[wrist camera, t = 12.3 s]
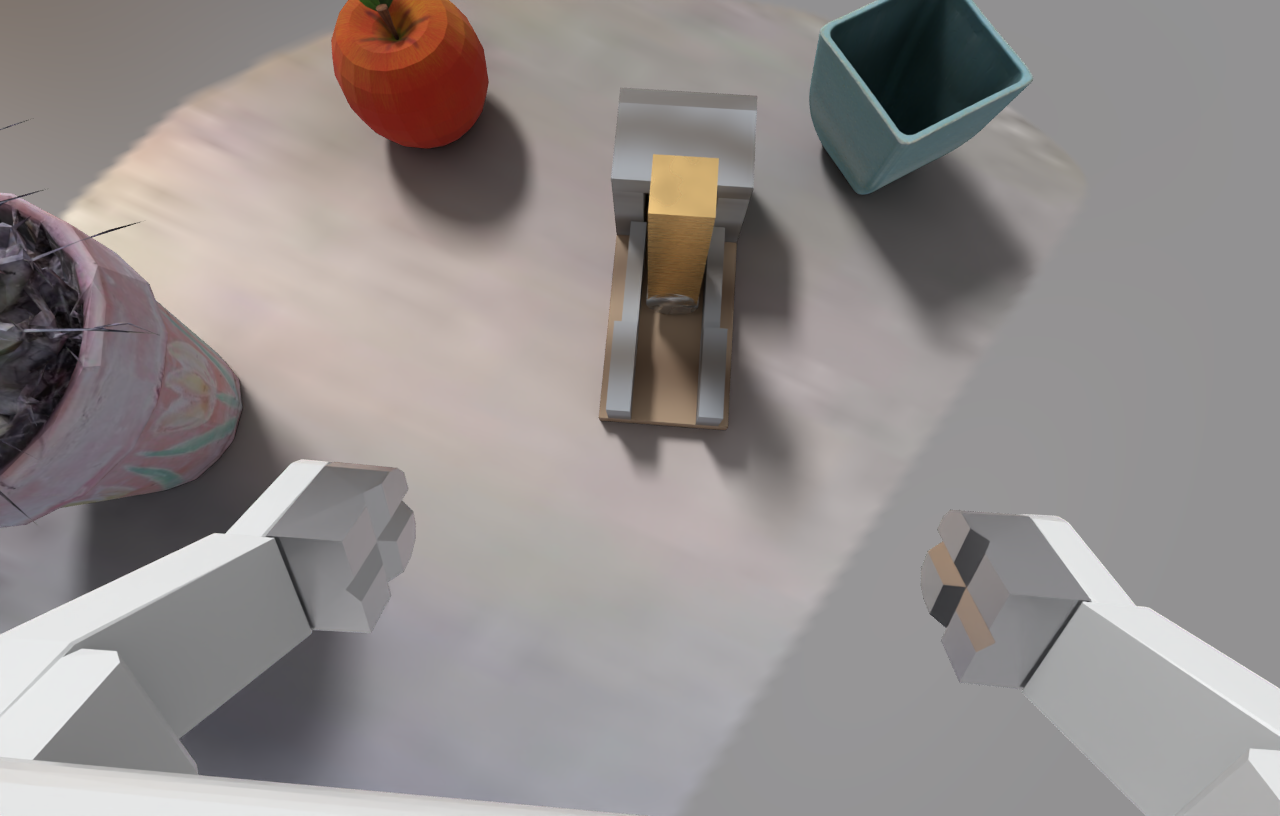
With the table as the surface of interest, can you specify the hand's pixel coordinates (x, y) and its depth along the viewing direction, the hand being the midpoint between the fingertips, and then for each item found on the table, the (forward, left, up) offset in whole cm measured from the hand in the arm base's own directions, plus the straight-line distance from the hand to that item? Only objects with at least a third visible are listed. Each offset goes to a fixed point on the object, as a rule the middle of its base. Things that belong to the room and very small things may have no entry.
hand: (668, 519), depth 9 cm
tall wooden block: (+19, 0, -26) cm, 32 cm away
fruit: (+28, +18, -28) cm, 43 cm away
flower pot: (+27, -13, -28) cm, 41 cm away
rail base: (+15, 0, -27) cm, 31 cm away
